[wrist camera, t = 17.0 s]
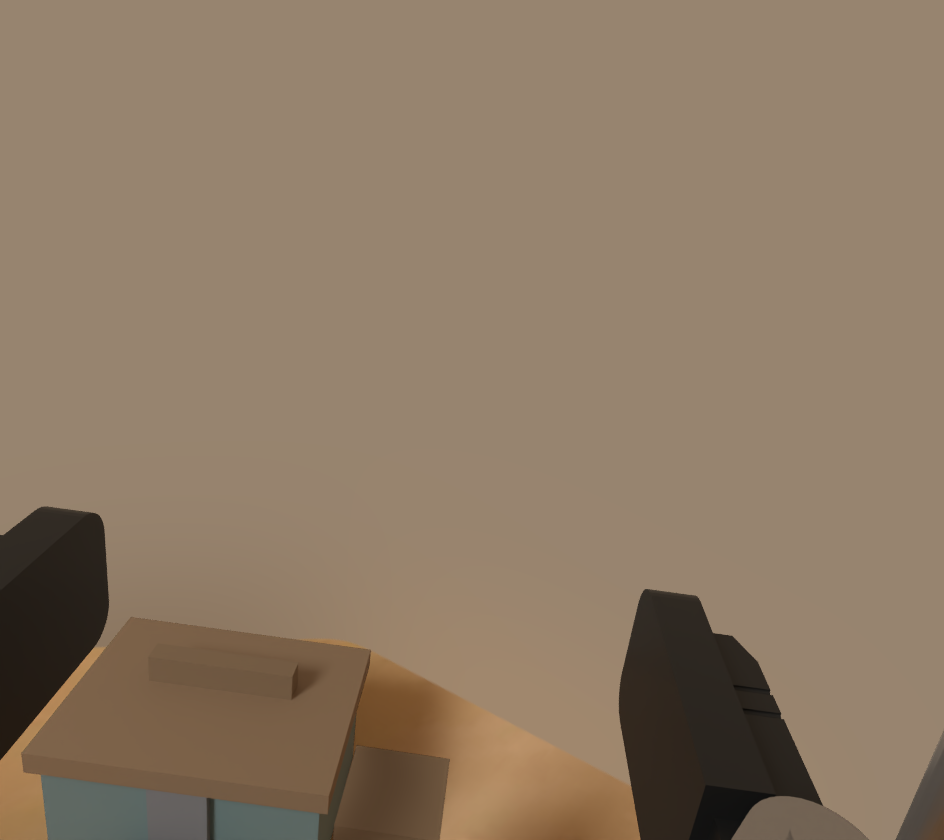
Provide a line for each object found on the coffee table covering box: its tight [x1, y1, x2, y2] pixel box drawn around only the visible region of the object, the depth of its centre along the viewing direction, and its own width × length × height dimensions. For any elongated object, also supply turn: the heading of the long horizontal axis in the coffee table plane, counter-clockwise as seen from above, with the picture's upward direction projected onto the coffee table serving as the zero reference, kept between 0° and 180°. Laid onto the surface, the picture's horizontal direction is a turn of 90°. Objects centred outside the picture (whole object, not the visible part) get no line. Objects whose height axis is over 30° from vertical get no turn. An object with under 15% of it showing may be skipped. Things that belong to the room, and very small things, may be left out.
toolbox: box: [21, 617, 371, 840], centre depth 43 cm, size 15×11×10 cm
